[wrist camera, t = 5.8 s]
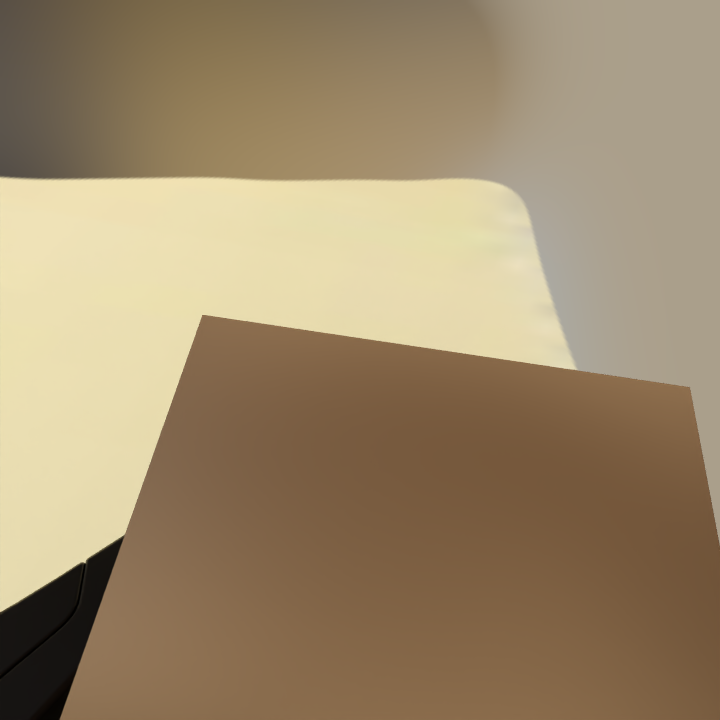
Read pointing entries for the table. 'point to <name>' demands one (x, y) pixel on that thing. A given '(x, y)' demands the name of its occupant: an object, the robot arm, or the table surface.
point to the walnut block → (409, 543)
